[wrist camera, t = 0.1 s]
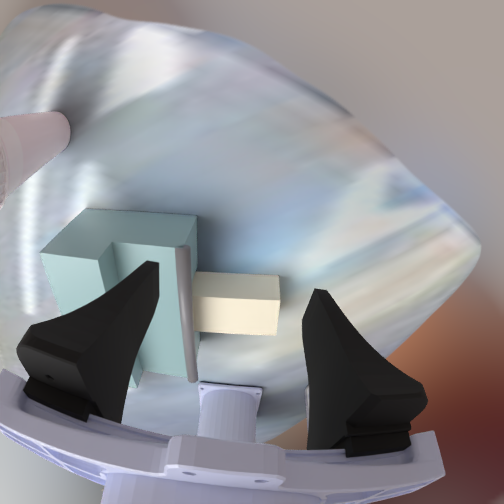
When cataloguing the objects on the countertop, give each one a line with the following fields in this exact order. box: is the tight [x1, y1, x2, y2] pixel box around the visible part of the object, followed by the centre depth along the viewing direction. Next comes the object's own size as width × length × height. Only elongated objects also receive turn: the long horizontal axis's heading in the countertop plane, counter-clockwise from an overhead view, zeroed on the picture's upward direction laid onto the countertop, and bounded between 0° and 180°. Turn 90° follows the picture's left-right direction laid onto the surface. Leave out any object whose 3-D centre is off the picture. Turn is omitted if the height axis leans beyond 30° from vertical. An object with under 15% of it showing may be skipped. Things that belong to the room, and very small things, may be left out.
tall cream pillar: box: [192, 271, 280, 335], centre depth 25 cm, size 4×12×4 cm, turn 88°
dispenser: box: [40, 209, 200, 388], centre depth 23 cm, size 14×10×7 cm
